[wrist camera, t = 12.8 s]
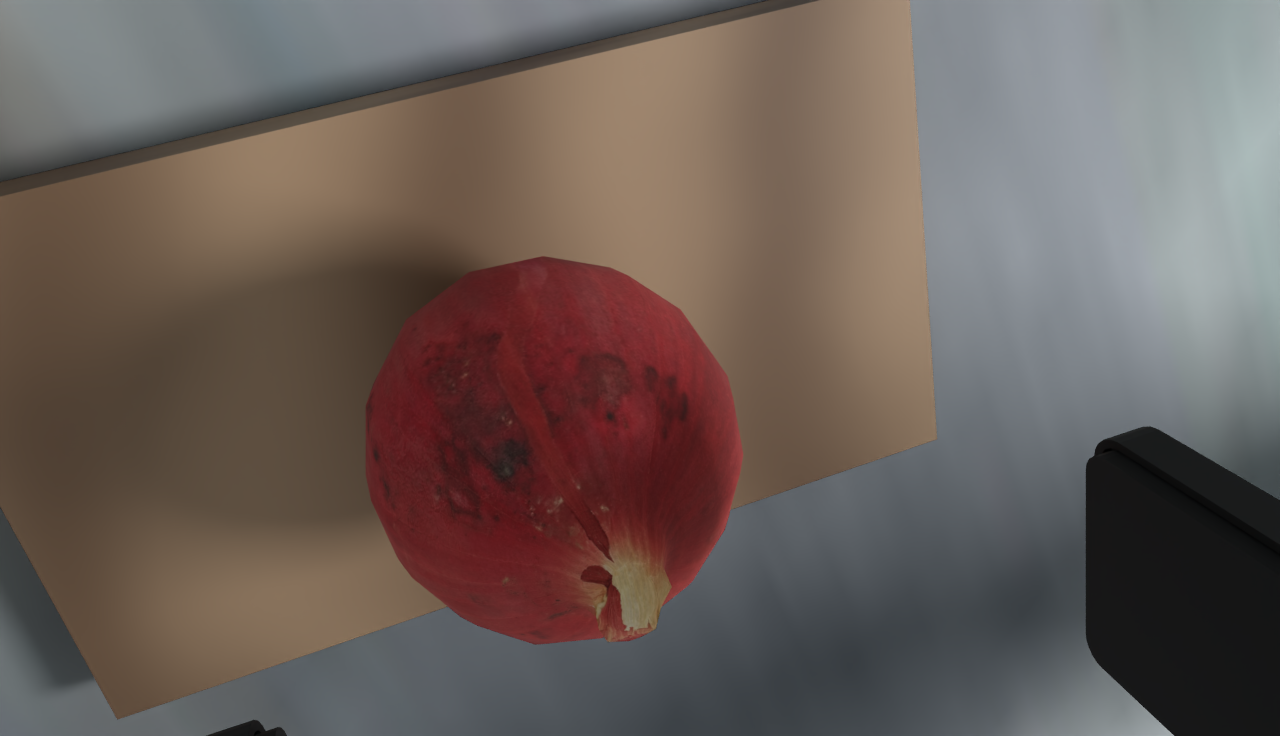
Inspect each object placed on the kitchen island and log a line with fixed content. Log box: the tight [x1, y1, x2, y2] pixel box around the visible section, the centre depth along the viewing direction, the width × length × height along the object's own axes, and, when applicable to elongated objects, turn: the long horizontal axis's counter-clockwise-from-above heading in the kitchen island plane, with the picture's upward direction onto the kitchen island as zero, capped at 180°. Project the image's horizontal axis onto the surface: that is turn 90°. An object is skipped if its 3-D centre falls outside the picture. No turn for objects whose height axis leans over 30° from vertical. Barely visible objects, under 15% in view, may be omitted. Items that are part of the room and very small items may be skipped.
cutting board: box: [0, 0, 937, 719], centre depth 20 cm, size 18×10×2 cm, turn 102°
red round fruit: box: [366, 256, 743, 644], centre depth 16 cm, size 6×6×8 cm
